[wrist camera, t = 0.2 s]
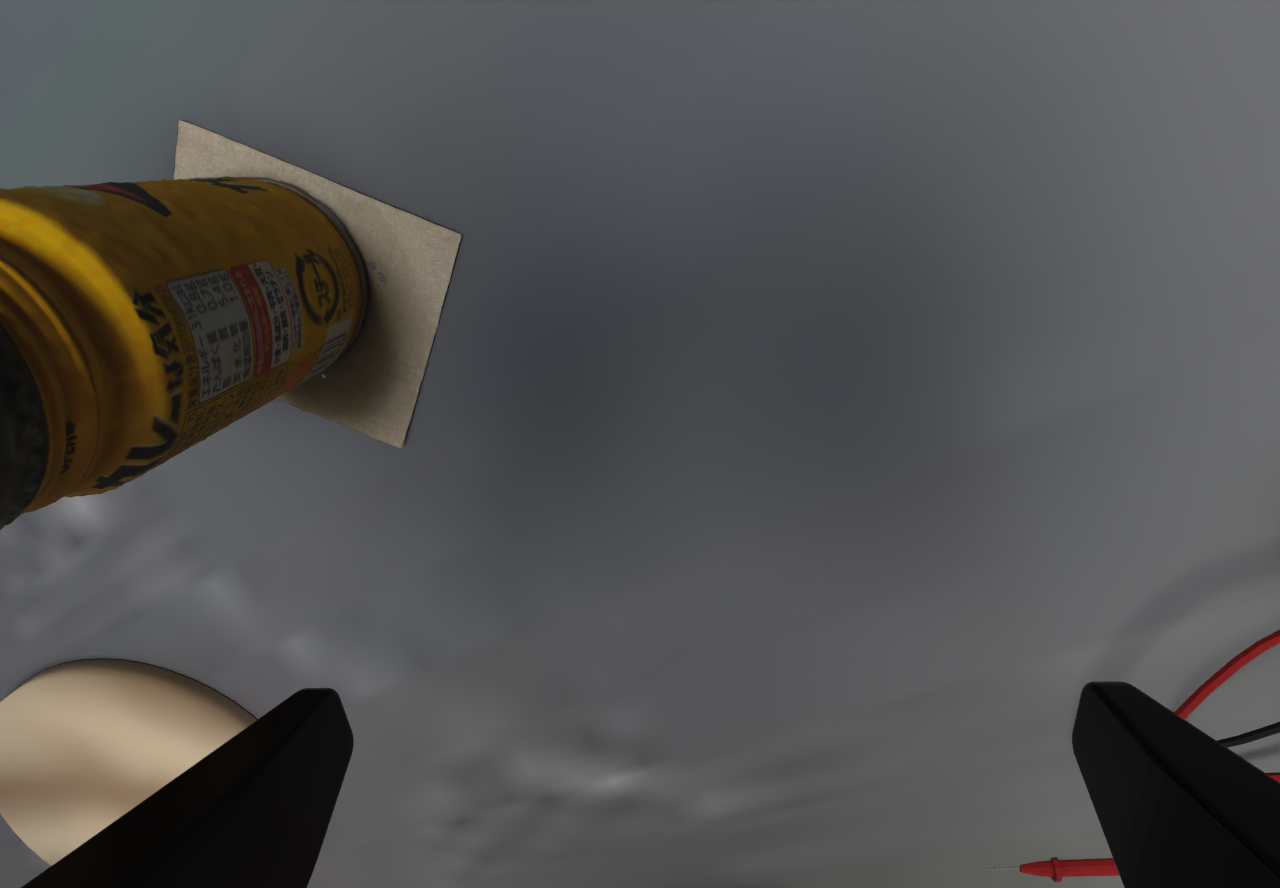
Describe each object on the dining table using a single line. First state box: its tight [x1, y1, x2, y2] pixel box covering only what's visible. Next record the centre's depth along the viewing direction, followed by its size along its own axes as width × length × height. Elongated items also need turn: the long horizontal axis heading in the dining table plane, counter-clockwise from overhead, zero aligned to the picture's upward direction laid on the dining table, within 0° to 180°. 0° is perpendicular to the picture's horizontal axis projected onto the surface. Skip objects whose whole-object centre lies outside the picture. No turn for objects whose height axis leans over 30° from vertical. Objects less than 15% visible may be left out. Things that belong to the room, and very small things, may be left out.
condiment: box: [0, 120, 462, 530], centre depth 16 cm, size 7×8×12 cm
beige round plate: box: [0, 659, 257, 866], centre depth 31 cm, size 14×14×1 cm
